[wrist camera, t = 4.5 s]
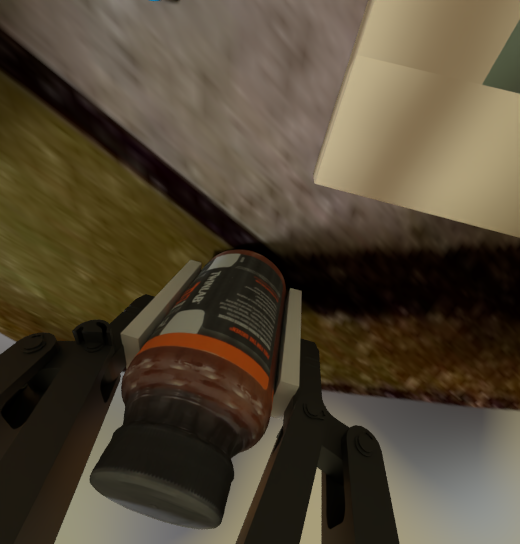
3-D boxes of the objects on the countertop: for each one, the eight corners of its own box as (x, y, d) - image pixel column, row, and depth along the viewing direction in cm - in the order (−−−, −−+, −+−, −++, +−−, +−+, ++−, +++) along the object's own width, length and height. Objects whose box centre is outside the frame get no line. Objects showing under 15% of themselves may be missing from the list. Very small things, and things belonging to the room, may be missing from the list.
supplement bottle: (207, 235, 14) (14, 427, 5) (298, 258, 14) (283, 510, 5) (201, 304, 18) (78, 504, 8) (275, 325, 17) (239, 556, 8)
